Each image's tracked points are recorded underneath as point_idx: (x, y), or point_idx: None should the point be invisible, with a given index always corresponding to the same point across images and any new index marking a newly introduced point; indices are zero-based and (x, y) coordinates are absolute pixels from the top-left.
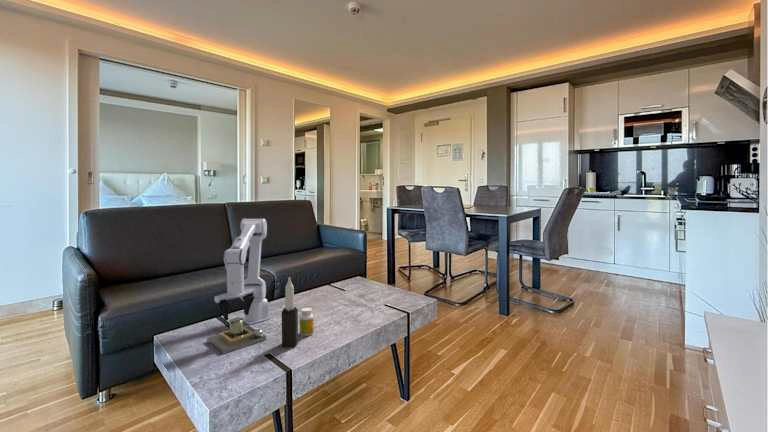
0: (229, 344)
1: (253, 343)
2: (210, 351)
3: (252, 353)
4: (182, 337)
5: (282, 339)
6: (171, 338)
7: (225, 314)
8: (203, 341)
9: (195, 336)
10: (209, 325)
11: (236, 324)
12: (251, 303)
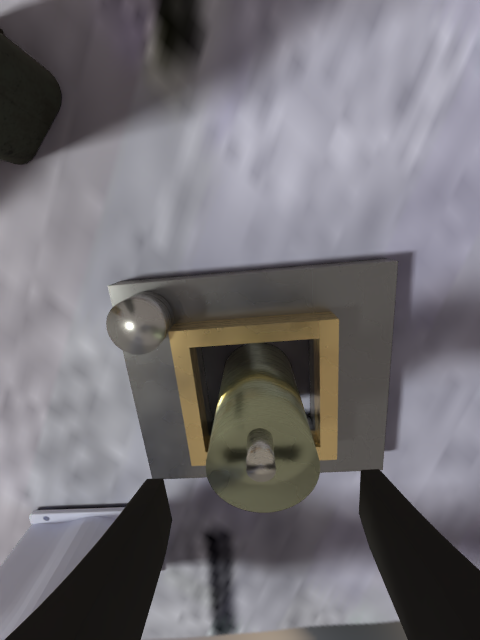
0: (332, 312)
1: (198, 275)
2: (413, 338)
3: (251, 142)
4: None
5: (15, 54)
6: None
7: (438, 533)
8: None
9: None
10: (288, 596)
11: (280, 410)
12: (22, 623)
